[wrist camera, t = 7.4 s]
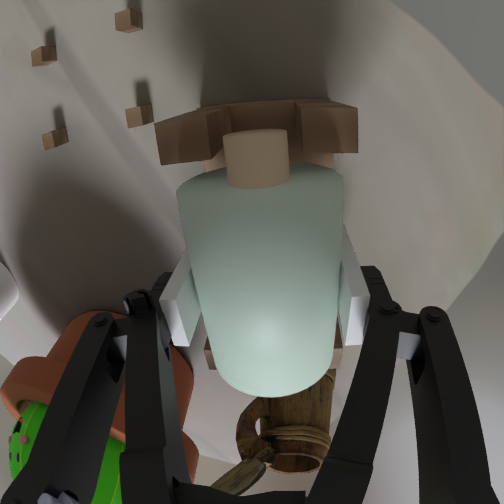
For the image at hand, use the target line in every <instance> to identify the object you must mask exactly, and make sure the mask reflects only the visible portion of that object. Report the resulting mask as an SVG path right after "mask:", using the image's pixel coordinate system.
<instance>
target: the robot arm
mask: <svg viewBox="0 0 504 504" xmlns="http://www.w3.org/2000/svg"><path fill="white" fill-rule="evenodd" d="M123 303H124V305H125V308H126V310H127V313H128V315H129V317H125V318H120V319H114V318H113V315H112V314H111V313H109V312H101V313H98V314H96V315H94V316H93V317H92V318H91V319H90V320H89V322H88V324H87V325H86V327H85V329H84V331H83V333H82V335H81V337H80V339H79V341H78V343H77V345H76V347H75V349H74V351H73V353H72V355H71V357H70V359H69V361H68V363H67V365H66V368H65V370H64V372H63V374H62V376H61V378H60V381H59V383H58V385H57V387H56V390H55V392H54V394H53V396H52V399H51V401H50V403H49V406H48V408H47V411H46V413H45V415H44V418H43V420H42V423H41V425H40V428H39V431H38V433H37V436H36V439H35V441H34V444H33V447H32V449H31V452H30V455H29V458H28V461H27V463H26V464H25V465H24V467H23V468H22V470H21V471H20V472H19V474H18V475H17V476H16V478H15V479H14V481H13V482H12V483H11V485H10V486H9V488H8V489H7V491H6V492H5V493H4V495H3V497H2V499H1V503H0V504H91V502H92V500H93V497H94V494H95V490H96V487H97V482H98V478H99V473H100V469H101V465H102V461H103V457H104V453H105V449H106V445H107V441H108V437H109V433H110V430H111V426H112V422H113V419H114V415H115V412H116V408H117V405H118V401H119V398H120V395H121V391H122V388H123V385H124V381H125V444H126V447H125V451H124V452H121V453H120V456H119V472H120V487H121V499H122V504H362V502H363V499H364V496H365V494H366V491H367V487H368V484H369V481H370V478H371V475H372V471H373V460H374V457H375V453H376V449H377V446H378V442H379V438H380V434H381V430H382V427H383V422H384V418H385V413H386V409H387V405H388V399H389V395H390V390H391V385H392V379H393V374H394V368H395V362H396V358H402V359H406V362H407V368H408V374H409V381H410V388H411V394H412V402H413V410H414V418H415V428H416V439H417V451H418V466H419V467H418V468H419V503H420V504H500V503H499V501H498V499H497V497H496V495H495V492H494V491H493V488H492V486H491V482H490V474H489V467H488V461H487V454H486V448H485V443H484V437H483V433H482V428H481V423H480V419H479V414H478V410H477V406H476V402H475V398H474V395H473V391H472V387H471V384H470V380H469V377H468V373H467V370H466V367H465V364H464V360H463V357H462V354H461V351H460V348H459V345H458V342H457V339H456V337H455V334H454V331H453V328H452V326H451V323H450V320H449V318H448V316H447V314H446V312H445V311H443V310H442V309H441V308H438V307H435V306H428V307H425V308H423V309H422V310H421V311H420V314H414V313H409V312H405V311H402V308H401V306H400V305H399V304H398V303H396V302H395V301H392V298H391V296H390V293H389V291H388V289H387V286H386V284H385V282H384V279H383V277H382V275H381V272H380V271H379V270H378V269H377V268H376V267H375V266H360V265H359V263H358V260H357V257H356V254H355V252H354V249H353V246H352V244H351V241H350V239H349V236H348V233H347V231H346V228H345V226H344V225H342V249H341V268H340V284H339V297H338V310H339V315H340V320H341V326H342V331H343V337H344V343H345V346H347V345H361V344H362V340H363V337H364V341H363V345H362V349H361V353H360V356H359V360H358V363H357V367H356V370H355V374H354V377H353V380H352V384H351V387H350V390H349V393H348V396H347V400H346V403H345V406H344V409H343V412H342V414H341V418H340V420H339V423H338V426H337V429H336V432H335V434H334V437H333V440H332V442H331V445H330V447H329V450H328V452H327V455H326V456H325V458H324V460H323V463H322V465H321V468H320V470H319V473H318V475H317V477H316V479H315V482H314V484H313V486H312V488H311V491H310V493H309V495H308V497H306V496H305V491H271V492H266V493H260V494H255V495H248V496H236V495H233V494H229V493H226V492H223V491H221V490H218V489H215V488H212V487H209V486H202V485H195V484H193V483H192V480H191V478H190V475H189V471H188V466H187V461H186V456H185V450H184V444H183V438H182V432H181V426H180V419H179V413H178V406H177V399H176V391H175V383H174V375H173V366H172V357H171V350H170V347H169V342H170V339H171V338H172V341H173V344H174V346H190V343H191V340H192V337H193V334H194V331H195V328H196V325H197V322H198V319H199V316H200V313H201V307H200V303H199V299H198V295H197V290H196V286H195V282H194V278H193V273H192V269H191V264H190V260H189V255H188V250H187V248H186V250H185V251H184V253H183V255H182V257H181V259H180V261H179V263H178V264H177V266H176V268H175V270H174V272H165V273H163V274H162V275H161V276H160V277H159V278H158V279H157V281H156V282H155V285H154V286H153V288H152V290H151V291H150V292H149V291H148V290H144V289H139V290H135V291H132V292H130V293H129V294H127V295H126V296H125V297H124V300H123Z"/></svg>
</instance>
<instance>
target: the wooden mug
mask: <svg viewBox="0 0 504 504" xmlns="http://www.w3.org/2000/svg"><path fill="white" fill-rule="evenodd" d="M335 376H336V372H335V369H328V370H327V371H326V373H325V374H324V375H323V376H322V377H321V378H320V379H319V380H318V381H317V382H316V383H315V384H313V385H312V386H310V387H308V388H307V389H305V390H302V391H300V392H298V393H295V394H291V395H287V396H282V397H260V396H257V398H256V399H254V400H253V401H252V402H251V403H250V404H249V405H248V406H247V407H246V409H245V410H244V411H243V412H242V414H241V415H240V418H239V421H238V423H237V428H236V442H237V447H238V451H239V454H240V456H241V459H242V461H241V462H240V463H239V464H238V465H237V466H236V467H234V468H233V469H231V470H230V471H228V472H227V473H226V474H224V475H223V476H222V477H221V478H219V479H218V480H217V481H216V482H215V483H213V484H212V485H211V486H210V487H212V488H215V489H218V490H221V491H223V492H226V493H229V494H233V495H236V496H240V495H241V494H242V493H244V492H245V491H246V490H248V489H249V488H250V487H252V486H253V485H254V484H255V483H256V482H257V481H258V480H259V479H260V478H261V477H262V476H263V474H264V473H265V471H266V468H267V469H269V470H271V471H274V472H278V473H283V474H302V473H310V472H313V471H316V470H319V469H320V468H321V465H322V463H323V460H324V458H325V456H326V455H327V452H328V450H329V447H330V444H331V438H330V436H329V428H330V417H331V406H332V393H333V390H334V386H335ZM258 418H260V435H259V436H258V434H257V432H256V429H255V424H256V421H257V420H258Z"/></svg>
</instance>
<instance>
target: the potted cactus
mask: <svg viewBox="0 0 504 504" xmlns="http://www.w3.org/2000/svg"><path fill="white" fill-rule="evenodd" d="M101 312H109V313H111V314H112V315H113V318H114V319H120V318H125V317H127V316H124V315H122V314H118V313H115V312H110V311H90V312H86V313H83V314H81V315H79V316H77V317H76V318H74V319H73V320H72V321H71V322H70V323H69V324H68V326H67V327H66V329H65V330H64V332H63V333H62V334H61V336H60V337H59V339H58V340H57V342H56V343H55V345H54V346H53V348H52V349H51V351H50V352H49V354H48V355H47V357H38V356H33V357H26V358H23V359H21V360H20V361H19V362H17V364H16V365H15V366H14V368H13V369H12V371H11V372H10V374H9V375H8V377H7V378H6V380H5V382H4V383H3V385H2V386H1V389H0V395H1V398H2V401H3V403H4V405H5V406H6V408H7V409H8V411H9V412H10V413H11V415H12V416H13V417H14V418H15V419H16V420H17V422H16V424H15V426H14V429H13V432H12V435H11V436H10V437H9V440H8V442H9V444H10V445H9V464H10V467H9V468H10V470H11V474H12V475H10V476H12V478H13V481H14V479H15V478H16V476H17V475H18V474H19V472H20V471H21V470H22V468H23V467H24V465H25V464H26V463H27V461H28V458H29V455H30V452H31V449H32V447H33V444H34V441H35V439H36V436H37V433H38V431H39V428H40V425H41V423H42V420H43V418H44V415H45V413H46V411H47V408H48V406H49V403H50V401H51V399H52V396H53V394H54V392H55V390H56V387H57V385H58V383H59V381H60V378H61V376H62V374H63V372H64V370H65V368H66V365H67V363H68V361H69V359H70V357H71V355H72V353H73V351H74V349H75V347H76V345H77V343H78V341H79V339H80V337H81V335H82V333H83V331H84V329H85V327H86V325H87V324H88V322H89V320H90V319H91V318H92V317H93V316H94V315H96V314H98V313H101ZM169 347H170V350H171V357H172V366H173V375H174V383H175V391H176V399H177V406H178V413H179V419H180V426H181V432H182V438H183V444H184V450H185V456H186V461H187V466H188V471H189V475H190V478H191V480H192V483H193V482H194V478H195V473H196V468H197V463H198V458H199V452H198V449H197V447H196V445H195V444H194V442H193V441H192V440H191V439H190V438H189V437H188V436H187V435H186V434H185V433H184V432H183V431H182V429H183V425H184V421H185V417H186V413H187V409H188V406H189V402H190V398H191V394H192V390H193V385H194V379H193V374H192V371H191V369H190V367H189V365H188V364H187V362H186V361H185V359H184V358H183V357H182V355H181V354H180V353H179V352H178V351H177V350H176V349H175V348H174V347H173V346H172V345H171V344H170V343H169ZM125 447H126V444H125V381H124V385H123V388H122V391H121V395H120V398H119V401H118V405H117V408H116V412H115V415H114V419H113V422H112V426H111V430H110V433H109V437H108V441H107V445H106V449H105V453H104V457H103V461H102V465H101V469H100V473H99V478H98V482H97V487H96V490H95V494H94V497H93V500H92V502H91V504H122V499H121V487H120V472H119V456H120V453H121V452H124V451H125ZM7 467H8V466H7Z"/></svg>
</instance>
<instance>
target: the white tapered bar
mask: <svg viewBox="0 0 504 504" xmlns="http://www.w3.org/2000/svg"><path fill="white" fill-rule="evenodd" d="M18 299H19V290H18V287H17V284H16V282H15V279H14V278H13V276H12V274H11V273H10V272H9V270H8V269H7V268H6V267H5V266H4V265H3V264H2V263H1V262H0V320H1V319H2V318H3V317H4V315H5V314H6V313H7V312H8V311H9V310H10V309H11V307H12V306H13V305H14V304H15V303H16V302H17V300H18Z"/></svg>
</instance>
